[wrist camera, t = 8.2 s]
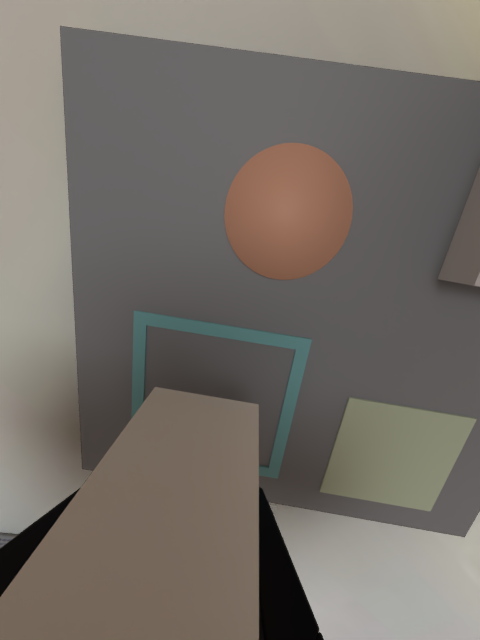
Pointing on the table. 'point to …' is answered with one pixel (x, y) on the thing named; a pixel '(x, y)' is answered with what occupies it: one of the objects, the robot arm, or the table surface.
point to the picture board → (283, 264)
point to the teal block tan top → (154, 534)
